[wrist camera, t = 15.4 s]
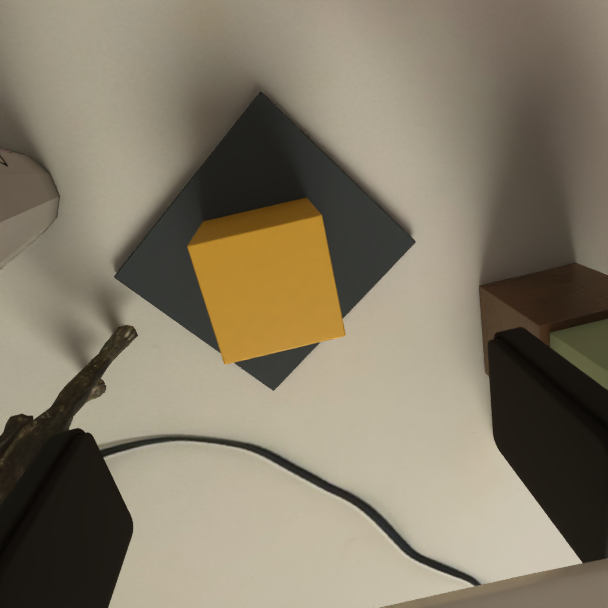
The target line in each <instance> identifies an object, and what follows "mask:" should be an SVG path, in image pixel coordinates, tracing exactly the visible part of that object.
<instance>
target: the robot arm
mask: <svg viewBox="0 0 608 608" xmlns="http://www.w3.org/2000/svg"><path fill="white" fill-rule="evenodd" d="M487 349H488V364H489V379H490V394H491V409H492V425H493V436H494V440H495V443H496V445H497V448H498V449H499V451H500V452H501V454H502V455H503V456H504V458H505V459H506V460H507V462H508V463H509V464H510V466H511V467H512V468H513V470H514V471H515V472H516V474H517V475H518V476H519V478H520V479H521V481H522V482H523V483H524V485H525V486H526V487H527V489H528V490H529V491H530V493H531V494H532V495H533V497H534V498H535V499H536V501H537V502H538V503H539V505H540V506H541V507H542V509H543V510H544V511H545V513H546V514H547V515H548V517H549V518H550V520H551V521H552V522H553V524H554V525H555V526H556V528H557V529H558V530H559V532H560V533H561V534H562V536H563V537H564V538H565V540H566V541H567V542H568V544H569V545H570V546H571V548H572V549H573V550H574V552H575V553H576V554H577V556H578V557H579V559H580V560H581V561H582V564H577V565H573V566H568V567H563V568H558V569H553V570H548V571H543V572H538V573H533V574H529V575H524V576H519V577H515V578H510V579H506V580H501V581H497V582H493V583H488V584H484V585H479V586H475V587H470V588H466V589H461V590H457V591H452V592H448V593H443V594H439V595H434V596H430V597H425V598H421V599H416V600H412V601H407V602H403V603H399V604H394V605H390V606H385V607H381V608H608V390H607V389H605V388H604V387H603V386H601V385H600V384H599V383H597V382H596V381H595V380H593V379H592V378H591V377H589V376H588V375H587V374H585V373H584V372H583V371H581V370H580V369H579V368H577V367H576V366H575V365H573V364H572V363H571V362H569V361H568V360H566V359H565V358H564V357H562V356H561V355H560V354H558V353H557V352H556V351H554V350H553V349H552V348H550V347H549V346H548V345H546V344H545V343H544V342H542V341H541V340H540V339H538V338H537V337H536V336H534V335H533V334H531V333H530V332H529V331H527V330H526V329H525V328H523V327H517V328H513V329H509V330H504V331H500V332H496V333H495V335H494V339H493V340H489V341H488V345H487ZM132 533H133V521H132V518H131V515H130V513H129V511H128V509H127V507H126V505H125V502H124V500H123V498H122V496H121V494H120V492H119V490H118V488H117V486H116V484H115V481H114V479H113V477H112V475H111V473H110V471H109V469H108V467H107V465H106V462H105V460H104V458H103V456H102V454H101V452H100V450H99V448H98V446H97V444H96V441H95V439H94V437H93V436H92V434H90V433H88V432H87V433H85V432H84V431H83V430H82V429H79V428H77V429H72V430H68V431H64V432H59V433H55V434H52V435H51V436H50V437H49V438H48V440H47V441H46V442H45V444H44V445H43V447H42V448H41V449H40V451H39V452H38V454H37V455H36V456H35V458H34V459H33V461H32V462H31V463H30V465H29V466H28V468H27V469H26V470H25V472H24V473H23V475H22V476H21V477H20V479H19V480H18V482H17V483H16V484H15V486H14V487H13V489H12V490H11V491H10V493H9V494H8V496H7V497H6V498H5V500H4V501H3V503H2V504H1V505H0V608H108V606H109V603H110V600H111V597H112V594H113V591H114V588H115V585H116V582H117V579H118V576H119V573H120V570H121V567H122V564H123V561H124V558H125V555H126V552H127V549H128V546H129V543H130V540H131V537H132Z"/></svg>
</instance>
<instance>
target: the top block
mask: <svg viewBox="0 0 608 608" xmlns="http://www.w3.org/2000/svg"><path fill="white" fill-rule="evenodd" d="M187 248H188V251H189V254H190V257H191V260H192V264H193V267H194V270H195V273H196V276H197V279H198V283H199V286H200V289H201V292H202V295H203V298H204V301H205V305H206V308H207V311H208V314H209V317H210V320H211V324H212V327H213V330H214V333H215V336H216V339H217V343H218V346H219V349H220V352H221V355H222V358H223V362H224V364H230V363H234V362H238V361H242V360H247V359H251V358H255V357H259V356H263V355H268V354H272V353H276V352H280V351H284V350H289V349H293V348H297V347H301V346H305V345H310V344H314V343H318V342H322V341H326V340H331V339H335V338H339V337H343V336H345V329H344V324H343V319H342V314H341V309H340V304H339V299H338V293H337V288H336V283H335V278H334V273H333V268H332V263H331V258H330V253H329V248H328V243H327V238H326V232H325V227H324V222H323V217H322V215H321V213H320V212H319V211H318V210H317V209H316V208H315V207H314V205H313V204H312V203H311V202H310V201H309V200H308V198H302V199H298V200H294V201H289V202H285V203H281V204H276V205H272V206H268V207H263V208H259V209H255V210H250V211H246V212H242V213H238V214H233V215H229V216H225V217H220V218H216V219H212V220H207V221H203V222H202V224H201V225H200V227H199V229H198V230H197V232H196V233H195V235H194V236H193V238H192V239H191V241H190V242H189V244H188V245H187Z"/></svg>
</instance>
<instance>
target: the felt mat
mask: <svg viewBox="0 0 608 608" xmlns="http://www.w3.org/2000/svg"><path fill="white" fill-rule="evenodd" d="M302 198H308V200H309V201H310V202H311V203H312V204H313V205H314V207H315V208H316V209H317V210H318V211H319V212H320V213H321V215H322V217H323V222H324V227H325V232H326V238H327V243H328V248H329V253H330V258H331V263H332V268H333V273H334V278H335V283H336V288H337V293H338V299H339V304H340V309H341V314H342V319H343V318H344V317H345V316H346V315H347V314H348V313H349V312H350V311H351V309H352V308H353V307H354V306H355V305H356V304H357V303H358V302H359V301H360V300H361V299H362V298H363V297H364V296H365V295H366V294H367V293H368V292H369V291H370V290H371V289H372V287H373V286H374V285H375V284H376V283H377V282H378V281H379V280H380V279H381V278H382V277H383V276H384V275H385V274H386V273H387V272H388V271H389V270H390V269H391V268H392V267H393V265H394V264H395V263H396V262H397V261H398V260H399V259H400V258H401V257H402V256H403V255H404V254H405V253H406V252H407V251H408V250H409V249H410V248H411V247H412V246H413V245H414V244H415V240H414V239H413V238H412V237H411V236H410V235H409V234H408V233H406V232H405V231H404V230H403V229H402V228H401V227H400V226H399V225H398V224H397V223H396V222H395V221H394V220H393V219H392V218H391V217H390V216H389V215H388V214H387V213H386V212H385V211H384V210H383V209H382V208H381V207H380V206H379V205H378V204H377V203H376V202H374V201H373V200H372V199H371V198H370V197H369V196H368V195H367V194H366V193H365V192H364V191H363V190H362V189H361V188H360V187H359V186H358V185H357V184H356V183H355V182H354V181H353V180H352V179H351V178H350V177H349V176H348V175H347V174H346V173H345V172H344V171H342V170H341V169H340V168H339V167H338V166H337V165H336V164H335V163H334V162H333V161H332V160H331V159H330V158H329V157H328V156H327V155H326V154H325V153H324V152H323V151H322V150H321V149H320V148H319V147H318V146H317V145H316V144H315V143H314V142H313V141H312V140H310V139H309V138H308V137H307V136H306V135H305V134H304V133H303V132H302V131H301V130H300V129H299V128H298V127H297V126H296V125H295V124H294V123H293V122H292V121H291V120H290V119H289V118H288V117H287V116H286V115H285V114H284V113H283V112H282V111H281V110H280V109H278V108H277V107H276V106H275V105H274V104H273V103H272V102H271V101H270V100H269V99H268V98H267V97H266V96H265V95H264V94H263V93H262V92H260V93H259V94H258V96H257V97H256V98H255V99H254V101H253V102H252V103H251V104H250V106H249V107H248V108H247V109H246V111H245V112H244V113H243V115H242V116H241V117H240V118H239V120H238V121H237V122H236V123H235V125H234V126H233V127H232V128H231V130H230V131H229V132H228V133H227V135H226V136H225V137H224V138H223V140H222V141H221V142H220V144H219V145H218V146H217V147H216V149H215V150H214V151H213V152H212V154H211V155H210V156H209V157H208V159H207V160H206V161H205V162H204V164H203V165H202V166H201V167H200V169H199V170H198V171H197V173H196V174H195V175H194V176H193V178H192V179H191V180H190V181H189V183H188V184H187V185H186V186H185V188H184V189H183V190H182V191H181V193H180V194H179V195H178V196H177V198H176V199H175V200H174V202H173V203H172V204H171V205H170V207H169V208H168V209H167V210H166V212H165V213H164V214H163V215H162V217H161V218H160V219H159V220H158V222H157V223H156V224H155V225H154V227H153V228H152V229H151V231H150V232H149V233H148V234H147V236H146V237H145V238H144V239H143V241H142V242H141V243H140V244H139V246H138V247H137V248H136V249H135V251H134V252H133V253H132V254H131V256H130V257H129V258H128V260H127V261H126V262H125V263H124V265H123V266H122V267H121V268H120V270H119V271H118V272H117V273H116V275H115V276H114V277H115V278H116V279H117V280H119V281H120V282H121V283H123V284H124V285H126V286H127V287H128V288H130V289H131V290H133V291H134V292H135V293H137V294H138V295H140V296H141V297H142V298H144V299H145V300H147V301H148V302H149V303H151V304H152V305H154V306H155V307H156V308H158V309H159V310H161V311H162V312H163V313H165V314H166V315H168V316H169V317H171V318H172V319H173V320H175V321H176V322H178V323H179V324H180V325H182V326H183V327H185V328H186V329H187V330H189V331H190V332H192V333H193V334H194V335H196V336H197V337H199V338H200V339H201V340H203V341H204V342H206V343H207V344H208V345H210V346H211V347H213V348H214V349H215V350H217V351H218V352H220V349H219V346H218V343H217V339H216V336H215V333H214V330H213V327H212V324H211V320H210V317H209V314H208V311H207V308H206V305H205V301H204V298H203V295H202V292H201V289H200V286H199V283H198V279H197V276H196V273H195V270H194V267H193V264H192V260H191V257H190V254H189V251H188V248H187V245H188V244H189V242H190V241H191V239H192V238H193V236H194V235H195V233H196V232H197V230H198V229H199V227H200V225H201V224H202V222H203V221H207V220H212V219H216V218H220V217H225V216H229V215H233V214H238V213H242V212H246V211H250V210H255V209H259V208H263V207H268V206H272V205H276V204H281V203H285V202H289V201H294V200H298V199H302ZM319 343H320V342H318V343H314V344H310V345H305V346H301V347H297V348H293V349H289V350H284V351H280V352H276V353H272V354H268V355H263V356H259V357H255V358H251V359H247V360H242V361H238V362H234V363H235V364H237V365H238V366H239V367H241V368H242V369H244V370H245V371H246V372H248V373H249V374H251V375H252V376H253V377H255V378H256V379H258V380H259V381H260V382H262V383H263V384H265V385H266V386H267V387H269V388H270V389H272V390H273V391H274V390H275V389H276V388H277V387H278V386H279V385H280V384H281V383H282V382H283V381H284V380H285V379H286V377H287V376H288V375H289V374H290V373H291V372H292V371H293V370H294V369H295V368H296V367H297V366H298V365H299V364H300V363H301V362H302V361H303V360H304V359H305V358H306V357H307V356H308V354H309V353H310V352H311V351H312V350H313V349H314V348H315V347H316V346H317V345H318V344H319ZM220 353H221V352H220Z"/></svg>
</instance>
